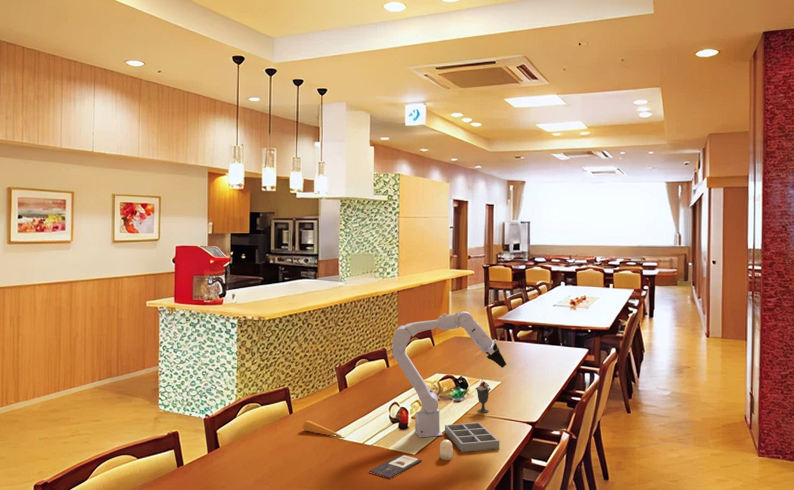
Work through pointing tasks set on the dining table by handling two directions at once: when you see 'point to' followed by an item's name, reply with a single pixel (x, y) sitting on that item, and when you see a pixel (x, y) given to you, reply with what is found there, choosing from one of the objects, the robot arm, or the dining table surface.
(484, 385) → the sundae
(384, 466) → the chocolate bar
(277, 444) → the dining table surface
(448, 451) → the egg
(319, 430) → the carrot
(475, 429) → the grey compartment tray
